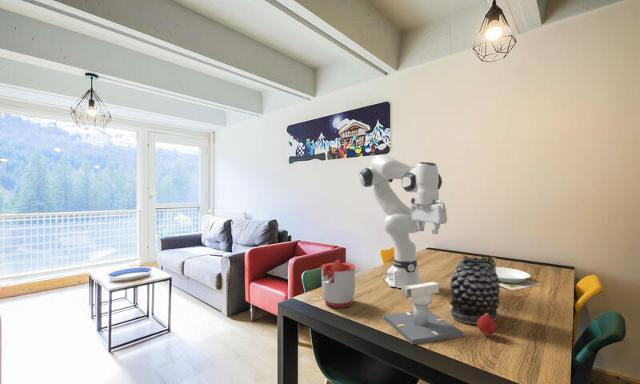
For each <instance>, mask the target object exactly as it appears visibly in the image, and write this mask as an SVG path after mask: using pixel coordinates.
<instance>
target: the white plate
mask: <svg viewBox="0 0 640 384" xmlns="http://www.w3.org/2000/svg"><path fill="white" fill-rule="evenodd" d="M496 274H497V275H498V276H500V277H503V278H500V277H498V279H499V281H501V282H500V283H504V282H508V283H507V284H520V283H523V282H524V281H525V280H526V281H527V279H528V278H530V277H531V274H530V273H528V272H527V271H523V270H520V269H515V268H509V267H503V266H496Z"/></svg>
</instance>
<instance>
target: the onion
mask: <svg viewBox="0 0 640 384" xmlns="http://www.w3.org/2000/svg"><path fill="white" fill-rule="evenodd" d="M495 321H496V320H493V319H492V318H491V317H490V316H489V315H488V313H486V314H484V315H483V316H481V317H480V318H479V319H478V322H477V324H476V326H477V328H478V330H479V331H480V332H481V333H482V334H483V335H484V336H485V337H490V336H492V335H493V334H495V333H496V331H497V328H498V327H497V326H498V325H497V323H496V322H495Z"/></svg>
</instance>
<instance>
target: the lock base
mask: <svg viewBox="0 0 640 384" xmlns="http://www.w3.org/2000/svg"><path fill="white" fill-rule="evenodd" d="M383 320H385V321H386V322H387V323H388V324H389V326H391V327H392V328H393V329H394V330H396V332H398V333H399V335H401V336H402V337H403V338H405V340H407V341H408V343H410V344H411V345H418V344H423V343H430V342H436V341H442V340H448V339H456V338H460V337H464V331H462V330H461V329H460V328H458V327H457V326H455V325H453V324H451V323H450V322H448V321H447V320H445V319H444V318H442V317H440V316H439V315H437V314H436V313H434V312H432V311H431V310H429V305H419V304H415V303H413V311H406V312H400V313H389V314H384V315H383Z"/></svg>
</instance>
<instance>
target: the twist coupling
mask: <svg viewBox="0 0 640 384" xmlns="http://www.w3.org/2000/svg"><path fill="white" fill-rule="evenodd" d="M400 290H401V292H400V293H401V297H403V298H405V299H408V300H409V302H410V303H412V304H414V303H415V304H419V305H428V306H429V305H431V304H432V303H433V294H437V293H440V283H437V282H434V281H430V282H429V281H428V282H423V283H422V282H421V284H416V285H410V286H404V287H401V289H400Z"/></svg>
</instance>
